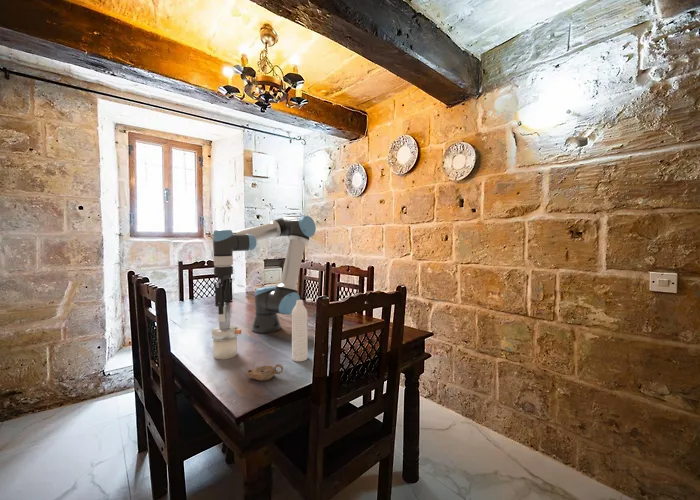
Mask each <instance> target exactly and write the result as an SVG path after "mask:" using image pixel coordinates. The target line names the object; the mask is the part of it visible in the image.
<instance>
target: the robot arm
mask: <svg viewBox="0 0 700 500" xmlns="http://www.w3.org/2000/svg"><path fill="white" fill-rule="evenodd" d="M316 230H317V229H316V223H315V221H314V219H313V218H312V217H311V216H310V215H303V214H301V215H287V216H286V215H285V216H283V217H280V218H277V219H272V220H270V221H269V222H268V223H264V224H260V225H257V226H253V227H247V228H243V229H240V230H236V231H232V230H231V229H215V230H213V234H212V237H213V238H212V245H213V247H212V248H213V258H212V260H213V266H214V267H213V275H214V276H217V281H216V282H214V283H213V284H214V299H215V300H214V301H215V302H214V305H215V307H217V311H218V312H217V314H218V315H217V317H218V322H225V321H226V314H225V306H224V303H230V304H231V303H233V277H230V276H232V275H233V274H234V266H233V265H234V257H233V253H234V252H243V251H246V252H248V251H253V250H255V249H256V247H257V242H258V241H259V242H260V241H262V240H266V239H269V238H278V237H287V238H288V240H289V243H288V248H287V251H286V256H285V260H284V263H283V269H282V272H281V278H280V282H279V283H278V284H277V285H276V286H275V285H273V286H264V287H259V288H258V287H257V288H256V289H255V290H254V309H255V310H254V319H253V322H252V327H251V330H252V331H253V332H254V333H259V334H260V333H261V334H264V333H265V334H266V333H272V332H277V331H279V330H280V329H281V321H280V319H279V316H278V314H281V315H292V310H293V308H294V307H295V305H296V302H297V300H301V298H300V297H301V296H300V295H299V293H298V291H299V290H298V287H297V284H298V280H299V279H298V277H299V274H300V269H301V264H302V259H303V256H304V251H305V246H306V244H307V243H309V242H310V238H311V237H313V236H314V235H315V234H316ZM231 317H232V314H231V309H230V319H231Z"/></svg>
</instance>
